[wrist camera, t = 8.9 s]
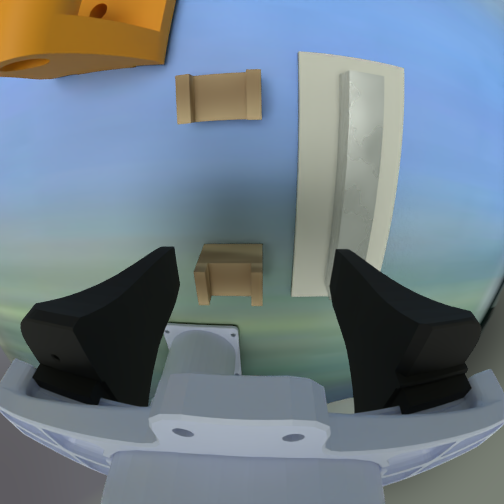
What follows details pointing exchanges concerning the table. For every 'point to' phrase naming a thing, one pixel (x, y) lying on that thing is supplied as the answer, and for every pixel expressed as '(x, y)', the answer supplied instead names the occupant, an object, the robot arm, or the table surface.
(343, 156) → the rail
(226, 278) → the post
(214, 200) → the table surface
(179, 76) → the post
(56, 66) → the bracket
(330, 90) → the mat
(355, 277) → the robot arm
